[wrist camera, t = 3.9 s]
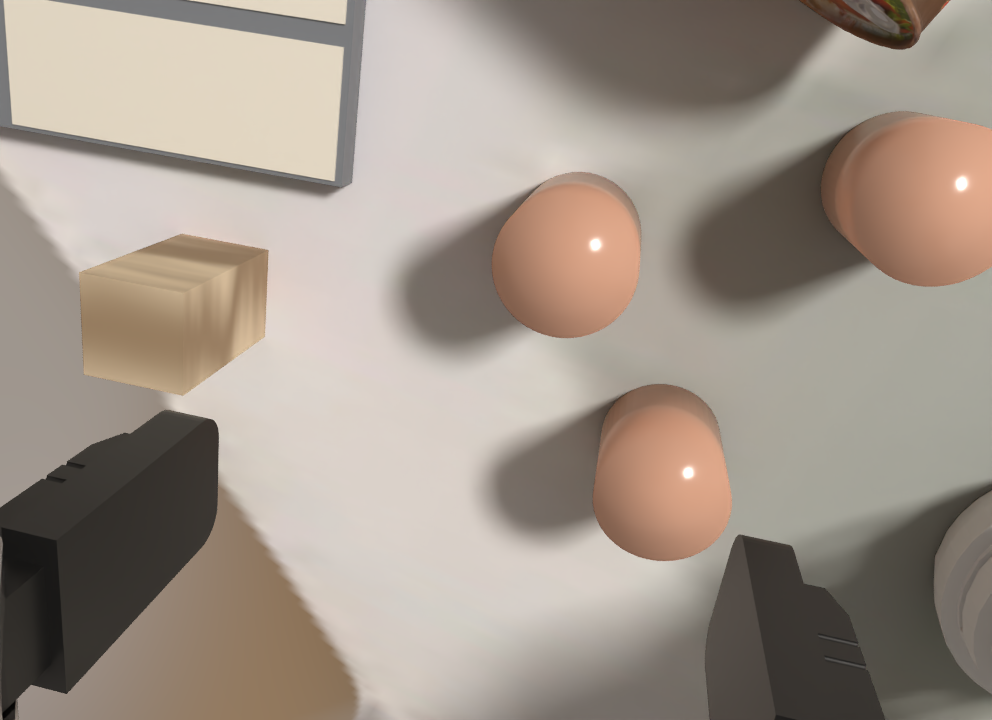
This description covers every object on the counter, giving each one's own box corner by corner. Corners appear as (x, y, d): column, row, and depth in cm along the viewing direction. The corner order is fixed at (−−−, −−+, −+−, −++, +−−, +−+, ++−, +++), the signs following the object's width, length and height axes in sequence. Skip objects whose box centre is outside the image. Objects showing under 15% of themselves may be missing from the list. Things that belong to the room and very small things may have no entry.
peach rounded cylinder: (843, 101, 30) (882, 109, 25) (987, 123, 29) (1059, 137, 24) (804, 236, 31) (833, 270, 26) (940, 260, 31) (997, 299, 26)
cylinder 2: (613, 373, 35) (606, 427, 30) (732, 397, 34) (747, 456, 29) (591, 476, 36) (581, 544, 31) (704, 501, 36) (713, 573, 31)
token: (181, 233, 36) (79, 272, 29) (268, 250, 35) (183, 292, 29) (181, 319, 37) (83, 374, 31) (264, 336, 37) (183, 395, 30)
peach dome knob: (526, 162, 32) (502, 181, 27) (653, 183, 32) (653, 207, 27) (508, 283, 34) (482, 323, 29) (627, 306, 34) (623, 350, 28)
